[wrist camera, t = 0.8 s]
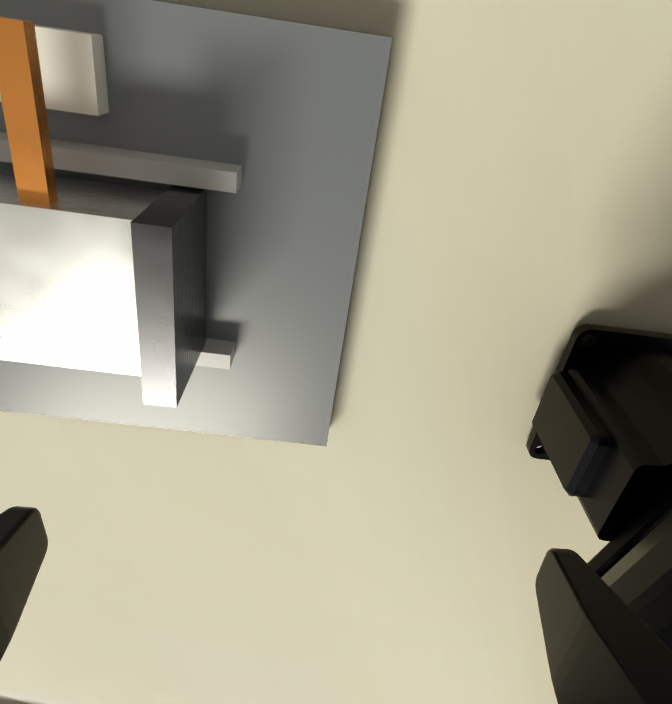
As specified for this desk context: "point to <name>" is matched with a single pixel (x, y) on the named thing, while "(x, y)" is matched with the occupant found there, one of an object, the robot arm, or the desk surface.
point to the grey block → (93, 254)
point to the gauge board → (218, 195)
